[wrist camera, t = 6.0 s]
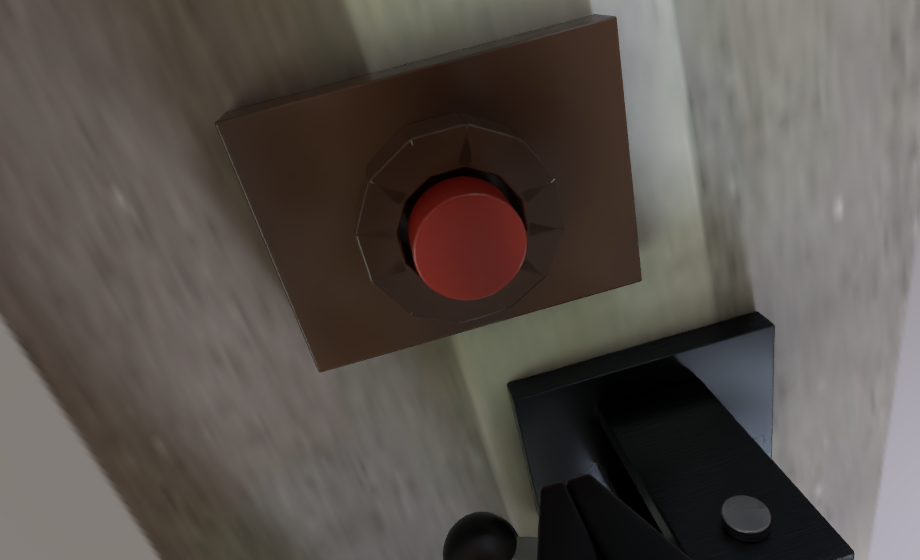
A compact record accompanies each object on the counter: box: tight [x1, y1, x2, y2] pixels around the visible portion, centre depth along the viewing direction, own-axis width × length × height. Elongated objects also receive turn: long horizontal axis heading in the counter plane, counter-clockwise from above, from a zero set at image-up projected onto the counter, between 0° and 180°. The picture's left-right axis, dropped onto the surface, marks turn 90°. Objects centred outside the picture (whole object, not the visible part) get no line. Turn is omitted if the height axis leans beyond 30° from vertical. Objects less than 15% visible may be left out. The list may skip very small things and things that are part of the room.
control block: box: [215, 14, 642, 372], centre depth 19 cm, size 12×9×4 cm
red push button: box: [408, 176, 527, 300], centre depth 17 cm, size 3×3×2 cm
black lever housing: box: [507, 312, 854, 560], centre depth 22 cm, size 11×8×10 cm
